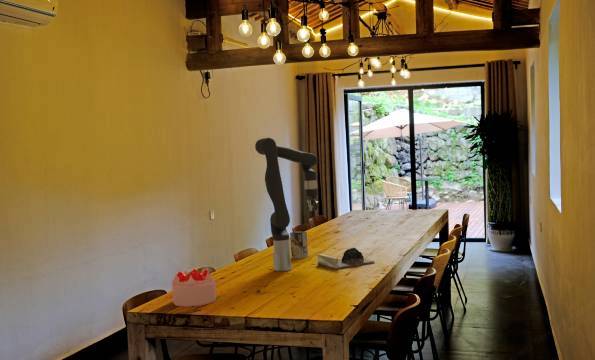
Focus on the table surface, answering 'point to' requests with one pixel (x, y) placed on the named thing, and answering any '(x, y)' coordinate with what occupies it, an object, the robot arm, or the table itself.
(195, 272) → the cake
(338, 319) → the table surface
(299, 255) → the coffee box
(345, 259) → the black rock
